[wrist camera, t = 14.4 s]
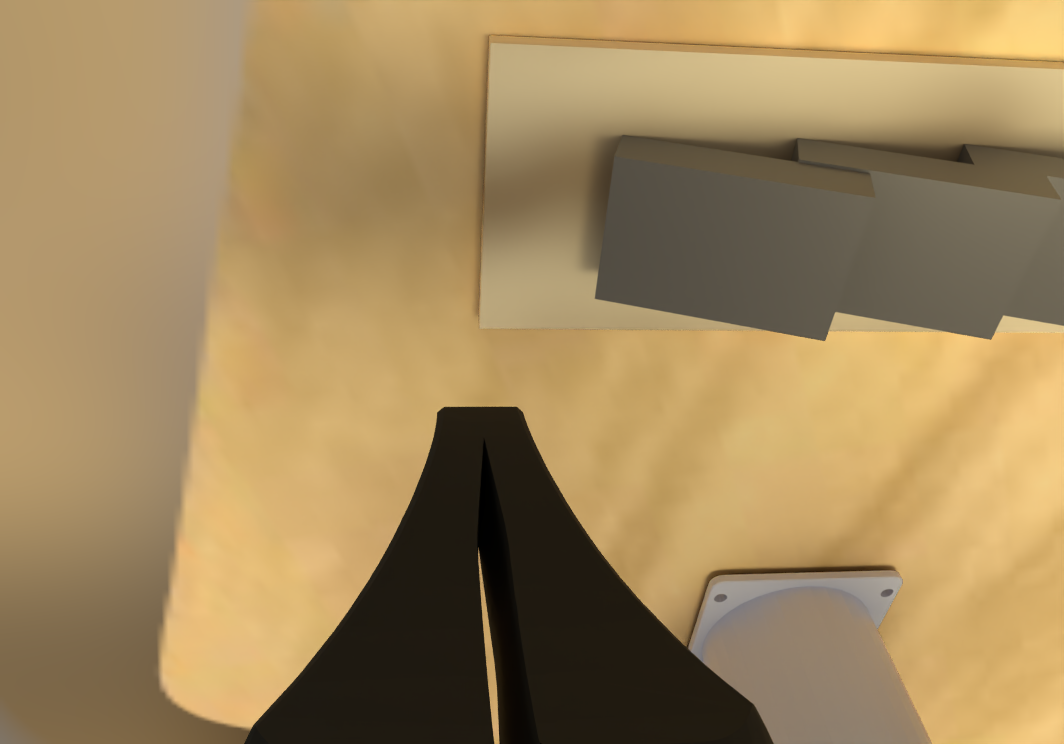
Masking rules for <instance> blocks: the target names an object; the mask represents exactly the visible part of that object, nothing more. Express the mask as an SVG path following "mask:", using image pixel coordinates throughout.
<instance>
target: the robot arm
mask: <svg viewBox="0 0 1064 744" xmlns="http://www.w3.org/2000/svg"><path fill="white" fill-rule="evenodd" d="M478 547H479V554H480V561H481V568H482V576H483V583H484V590H485V597H486V605H487V612H488V619H489V626H490V633H491V640H492V647H493V655H494V662H495V671H496V682H497V696H498V719H499V741H500V744H932V742H931V740H930V738H929V736H928V734H927V732H926V730H925V728H924V725H923V723H922V721H921V719H920V717H919V715H918V713H917V711H916V709H915V707H914V705H913V703H912V700H911V698H910V696H909V694H908V692H907V690H906V688H905V686H904V684H903V682H902V680H901V678H900V675H899V673H898V671H897V669H896V667H895V665H894V663H893V661H892V659H891V657H890V655H889V653H888V651H887V648H886V646H885V644H884V642H883V640H882V638H881V636H880V634H879V632H878V630H877V629H878V628H879V626H880V624H881V622H882V620H883V618H884V617H885V615H886V613H887V611H888V609H889V607H890V606H891V604H892V602H893V600H894V598H895V596H896V595H897V593H898V591H899V589H900V587H901V585H902V583H903V580H902V578H901V576H900V574H899V572H897V571H893V570H881V571H844V572H807V573H771V574H734V575H718V576H716V577H714V578H713V579H711V580H710V582H709V584H708V587H707V590H706V593H705V596H704V600H703V603H702V606H701V609H700V612H699V615H698V618H697V622H696V625H695V628H694V631H693V634H692V637H691V640H690V644H689V647H688V648H687V647H685V646H684V645H683V644H682V643H681V642H680V641H679V640H678V639H677V638H676V637H675V636H674V635H673V634H672V633H671V632H670V631H669V630H668V629H667V628H666V627H665V626H664V625H663V624H662V623H661V622H660V621H659V620H658V619H657V618H656V616H655V615H654V614H653V613H652V612H651V611H650V610H649V609H648V608H647V607H646V606H645V605H644V604H643V603H642V602H641V601H640V600H639V599H638V598H637V596H636V595H635V594H634V593H633V592H632V591H631V589H630V588H629V587H628V586H627V585H626V584H625V582H624V581H623V580H622V579H621V578H620V577H619V575H618V574H617V573H616V571H615V570H614V569H613V568H612V566H611V565H610V564H609V563H608V561H607V560H606V559H605V558H604V556H603V555H602V554H601V552H600V551H599V550H598V548H597V547H596V545H595V544H594V543H593V541H592V540H591V538H590V537H589V536H588V534H587V533H586V531H585V530H584V528H583V527H582V525H581V524H580V522H579V521H578V519H577V518H576V516H575V515H574V513H573V512H572V510H571V508H570V507H569V505H568V504H567V502H566V500H565V499H564V497H563V495H562V493H561V492H560V490H559V488H558V486H557V485H556V483H555V481H554V480H553V478H552V476H551V474H550V472H549V471H548V469H547V467H546V465H545V463H544V461H543V459H542V457H541V455H540V453H539V451H538V449H537V447H536V445H535V442H534V440H533V438H532V436H531V433H530V431H529V428H528V426H527V423H526V421H525V418H524V414H523V412H522V411H521V410H520V409H519V408H518V407H444V408H442V409H441V410H440V411H439V412H437V423H436V428H435V433H434V438H433V442H432V445H431V449H430V452H429V455H428V458H427V461H426V464H425V467H424V469H423V472H422V475H421V477H420V480H419V482H418V485H417V487H416V490H415V492H414V495H413V497H412V499H411V502H410V504H409V506H408V508H407V510H406V512H405V514H404V516H403V518H402V521H401V523H400V525H399V527H398V529H397V531H396V533H395V535H394V537H393V539H392V541H391V543H390V544H389V546H388V548H387V550H386V552H385V554H384V555H383V557H382V559H381V561H380V562H379V564H378V566H377V567H376V569H375V571H374V572H373V574H372V576H371V577H370V579H369V581H368V582H367V584H366V585H365V587H364V588H363V590H362V591H361V593H360V594H359V596H358V598H357V599H356V601H355V602H354V604H353V605H352V607H351V608H350V610H349V611H348V613H347V614H346V615H345V617H344V618H343V620H342V621H341V622H340V624H339V625H338V626H337V628H336V629H335V631H334V632H333V633H332V634H331V636H330V637H329V638H328V639H327V641H326V642H325V643H324V645H323V646H322V647H321V648H320V650H319V651H318V652H317V653H316V655H315V656H314V657H313V658H312V660H311V661H310V662H309V663H308V665H307V666H306V667H305V669H304V670H303V671H302V672H301V673H300V674H299V676H298V677H297V678H296V679H295V680H294V681H293V683H292V684H291V685H290V686H289V687H288V688H287V689H286V690H285V691H284V692H283V693H282V695H281V696H280V697H279V698H278V699H277V700H276V701H275V702H274V703H273V704H272V705H271V706H270V708H269V709H268V710H267V711H266V712H265V713H264V714H263V715H262V716H261V717H260V718H259V720H258V721H257V722H256V723H255V724H254V725H253V727H252V729H251V731H250V733H249V735H248V737H247V739H246V741H245V743H244V744H494V738H493V729H492V719H491V709H490V699H489V689H488V679H487V667H486V656H485V644H484V633H483V620H482V606H481V593H480V579H479V564H478Z"/></svg>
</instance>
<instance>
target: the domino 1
mask: <svg viewBox="0 0 1064 744" xmlns="http://www.w3.org/2000/svg"><path fill="white" fill-rule="evenodd" d="M875 199H876V197H875V193H874V188H873V184H872V180H871V175H870V173H865V172H859V171H852V170H846V169H840V168H833V167H827V166H820V165H814V164H808V163H801V162H795V161H788V160H782V159H775V158H769V157H763V156H756V155H750V154H743V153H737V152H731V151H724V150H718V149H711V148H705V147H698V146H692V145H686V144H679V143H673V142H666V141H660V140H654V139H647V138H641V137H634V136H628V135H622V138H621V140H620V143H619V146H618V148H617V151H616V153H615V156H614V163H613V170H612V177H611V185H610V192H609V199H608V206H607V213H606V220H605V228H604V235H603V242H602V249H601V256H600V264H599V271H598V278H597V285H596V292H595V299H598V300H604V301H609V302H615V303H620V304H625V305H631V306H636V307H642V308H647V309H653V310H658V311H664V312H669V313H675V314H680V315H685V316H691V317H696V318H702V319H707V320H713V321H718V322H724V323H729V324H734V325H740V326H745V327H751V328H756V329H762V330H767V331H773V332H778V333H784V334H789V335H794V336H800V337H805V338H811V339H816V340H822V341H825V340H826V337H827V334H828V331H829V328H830V326H831V323H832V320H833V317H834V314H835V312H836V309H837V306H838V303H839V300H840V297H841V295H842V292H843V289H844V286H845V283H846V281H847V278H848V275H849V272H850V269H851V266H852V264H853V261H854V258H855V255H856V252H857V249H858V247H859V244H860V241H861V238H862V235H863V233H864V230H865V227H866V224H867V221H868V218H869V216H870V213H871V210H872V207H873V204H874V202H875Z"/></svg>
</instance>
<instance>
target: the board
mask: <svg viewBox="0 0 1064 744" xmlns="http://www.w3.org/2000/svg"><path fill="white" fill-rule="evenodd" d="M622 135H628V136H634V137H641V138H647V139H654V140H660V141H666V142H673V143H679V144H686V145H692V146H698V147H705V148H711V149H718V150H724V151H731V152H737V153H743V154H750V155H756V156H763V157H769V158H775V159H782V160H788V161H791V159H792V156H793V152H794V149H795V145H796V141H797V138H801V139H807V140H814V141H820V142H827V143H834V144H840V145H847V146H854V147H860V148H867V149H874V150H880V151H887V152H893V153H900V154H907V155H913V156H920V157H927V158H933V159H940V160H946V161H953V162H957V160H958V158H959V155H960V153H961V151H962V148H963V146H964V144H969V145H975V146H982V147H989V148H996V149H1002V150H1009V151H1016V152H1023V153H1029V154H1036V155H1043V156H1049V157H1056V158H1063V159H1064V62H1049V61H1028V60H1007V59H986V58H964V57H943V56H922V55H901V54H879V53H858V52H837V51H816V50H794V49H773V48H752V47H731V46H710V45H688V44H667V43H646V42H625V41H603V40H582V39H561V38H540V37H519V36H497V35H489V56H488V82H487V108H486V135H485V161H484V187H483V214H482V240H481V266H480V293H479V329H588V330H727V331H767V330H762V329H756V328H751V327H745V326H740V325H734V324H729V323H724V322H718V321H713V320H707V319H702V318H696V317H691V316H685V315H680V314H675V313H669V312H664V311H658V310H653V309H647V308H642V307H636V306H631V305H625V304H620V303H615V302H609V301H604V300H598V299H595V292H596V285H597V278H598V271H599V264H600V256H601V249H602V242H603V235H604V228H605V220H606V213H607V206H608V199H609V192H610V185H611V177H612V170H613V163H614V156H615V153H616V151H617V148H618V146H619V143H620V140H621V138H622ZM829 331H867V332H945V331H940V330H934V329H928V328H923V327H917V326H911V325H906V324H900V323H894V322H889V321H883V320H878V319H872V318H866V317H861V316H855V315H849V314H844V313H838V312H835V314H834V317H833V320H832V323H831V326H830V328H829ZM995 332H1006V333H1064V326H1061V325H1056V324H1050V323H1044V322H1038V321H1033V320H1027V319H1021V318H1015V317H1010V316H1004V315H1003V317H1002V319H1001V321H1000V323H999V325H998V327H997V329H996V331H995Z"/></svg>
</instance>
